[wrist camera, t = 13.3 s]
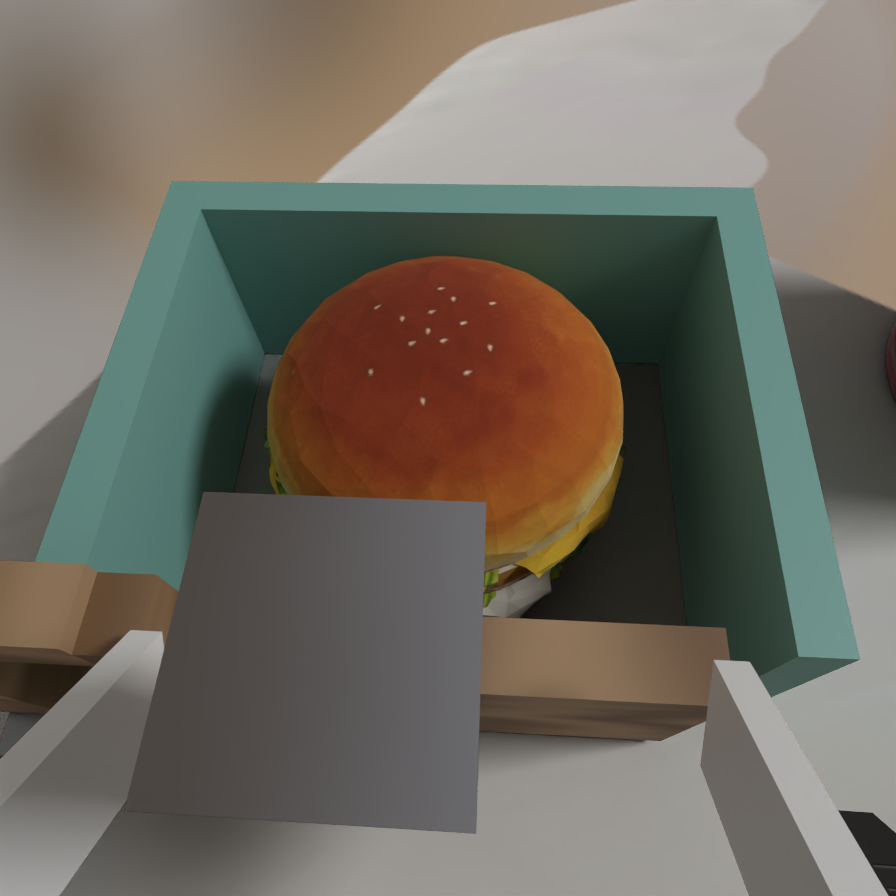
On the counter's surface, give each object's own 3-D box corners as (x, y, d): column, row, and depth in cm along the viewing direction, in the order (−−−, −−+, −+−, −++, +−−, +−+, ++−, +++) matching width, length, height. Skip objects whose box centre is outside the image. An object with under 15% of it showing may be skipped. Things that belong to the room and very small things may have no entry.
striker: (654, 668, 25) (1053, 326, 8) (668, 837, 23) (1314, 886, 5) (56, 638, 27) (-737, 286, 9) (5, 796, 24) (-1242, 723, 7)
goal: (686, 338, 33) (752, 188, 25) (738, 711, 25) (860, 659, 17) (240, 328, 34) (171, 181, 26) (152, 680, 26) (13, 618, 18)
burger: (541, 330, 34) (565, 158, 25) (661, 585, 28) (749, 473, 19) (272, 402, 32) (198, 246, 24) (335, 689, 26) (265, 621, 17)
